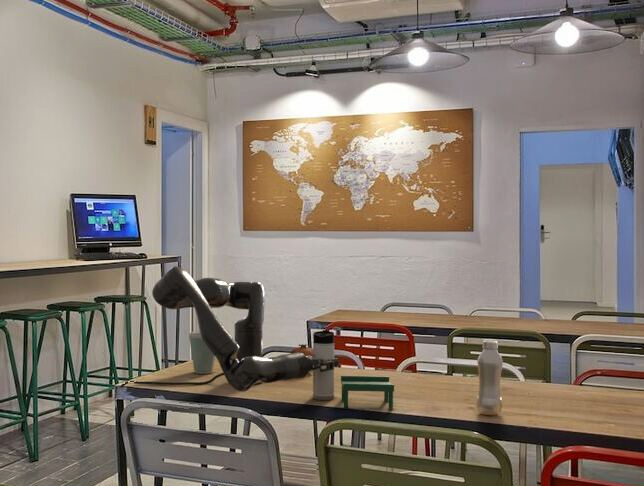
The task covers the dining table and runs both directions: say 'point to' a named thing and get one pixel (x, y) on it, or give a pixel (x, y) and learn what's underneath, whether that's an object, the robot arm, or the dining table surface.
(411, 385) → the dining table surface
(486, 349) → the plastic bottle
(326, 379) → the travel mug
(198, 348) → the disposable coffee cup
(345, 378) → the stand
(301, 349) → the fruit
